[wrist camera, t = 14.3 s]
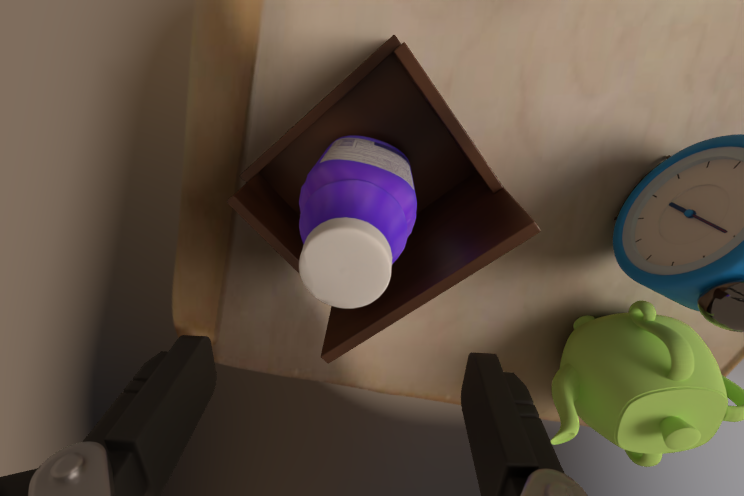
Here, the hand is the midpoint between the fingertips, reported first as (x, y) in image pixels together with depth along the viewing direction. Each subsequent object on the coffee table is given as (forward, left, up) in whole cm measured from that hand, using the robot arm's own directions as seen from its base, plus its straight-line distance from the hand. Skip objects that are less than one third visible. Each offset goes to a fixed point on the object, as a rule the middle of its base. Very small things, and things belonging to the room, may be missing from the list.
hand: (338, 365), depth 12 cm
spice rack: (0, 0, -27) cm, 27 cm away
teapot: (+28, -20, -27) cm, 43 cm away
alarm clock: (+28, -2, -27) cm, 39 cm away
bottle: (0, 0, -23) cm, 23 cm away
